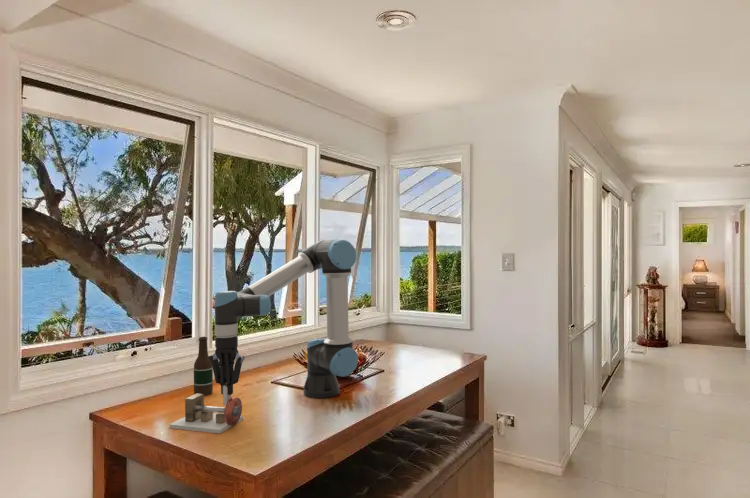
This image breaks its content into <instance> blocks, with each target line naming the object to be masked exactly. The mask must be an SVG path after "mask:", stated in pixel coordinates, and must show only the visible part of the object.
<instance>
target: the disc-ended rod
mask: <svg viewBox="0 0 750 498" xmlns="http://www.w3.org/2000/svg"><path fill="white" fill-rule="evenodd" d="M195 410H197V411H208V412H213V413H224V419H225V422H226V424H227V425H233V426H235V425H237V424H238V423H239V422H240V421H239V419H240V417H241V416H242V413H243V403H242V400H241V398H239V397H238V396H237V397H235V396H231V399H230V400H229V401H228V402H227V404H226V405H225V407H222V406H221V407H220V406H210V405H204V406H202V405H195ZM238 421H239V422H238ZM237 422H238V423H237Z"/></svg>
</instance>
